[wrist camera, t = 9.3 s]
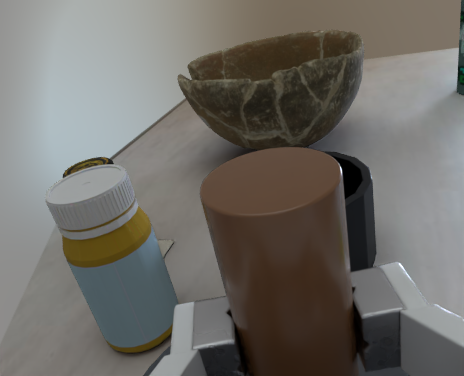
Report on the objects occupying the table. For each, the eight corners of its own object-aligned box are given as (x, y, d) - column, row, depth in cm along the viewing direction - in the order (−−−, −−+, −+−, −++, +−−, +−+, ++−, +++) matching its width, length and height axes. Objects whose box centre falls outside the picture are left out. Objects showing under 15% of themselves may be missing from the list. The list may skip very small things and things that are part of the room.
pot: (309, 320, 35) (296, 237, 31) (225, 258, 45) (207, 189, 41) (403, 248, 41) (401, 170, 37) (310, 207, 50) (301, 142, 46)
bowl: (178, 193, 61) (147, 92, 54) (216, 125, 84) (198, 48, 77) (379, 174, 54) (374, 56, 47) (361, 105, 77) (355, 19, 70)
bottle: (116, 372, 34) (42, 219, 28) (100, 321, 40) (35, 184, 33) (193, 331, 37) (142, 180, 30) (167, 288, 42) (119, 154, 36)
